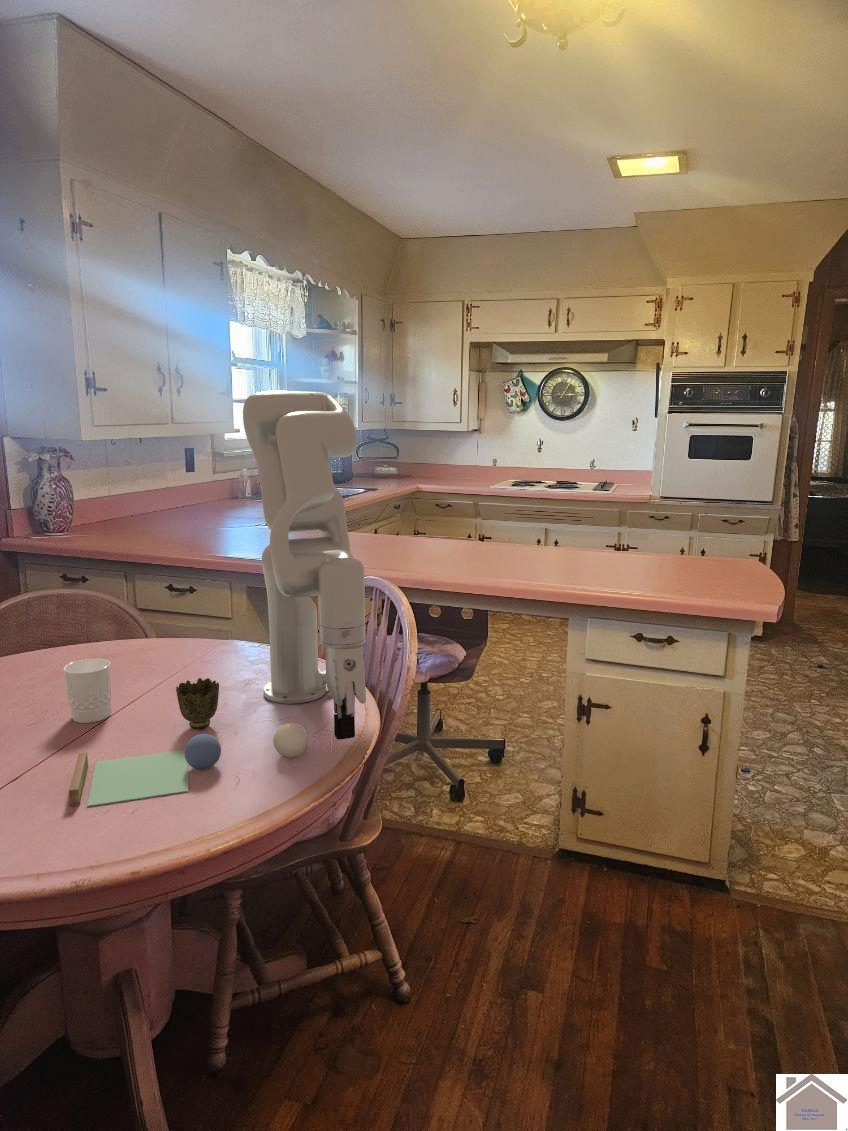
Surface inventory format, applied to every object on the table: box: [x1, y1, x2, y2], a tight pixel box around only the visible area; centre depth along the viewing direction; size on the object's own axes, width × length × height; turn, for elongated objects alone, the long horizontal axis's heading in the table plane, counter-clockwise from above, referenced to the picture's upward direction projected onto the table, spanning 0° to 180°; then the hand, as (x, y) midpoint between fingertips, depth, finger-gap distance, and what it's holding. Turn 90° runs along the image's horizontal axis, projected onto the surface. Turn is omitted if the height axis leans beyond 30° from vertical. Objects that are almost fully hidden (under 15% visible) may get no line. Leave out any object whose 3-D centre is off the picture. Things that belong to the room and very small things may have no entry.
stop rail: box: [68, 752, 89, 807], centre depth 110 cm, size 1×12×2 cm, turn 19°
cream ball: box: [272, 722, 308, 758], centre depth 120 cm, size 6×6×6 cm
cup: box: [175, 677, 220, 731], centre depth 130 cm, size 8×7×8 cm
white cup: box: [62, 657, 112, 724], centre depth 134 cm, size 8×8×10 cm
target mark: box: [86, 749, 189, 808], centre depth 113 cm, size 14×14×1 cm
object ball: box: [184, 733, 222, 771], centre depth 116 cm, size 6×6×6 cm
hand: (344, 736), depth 123 cm, fingers closed
